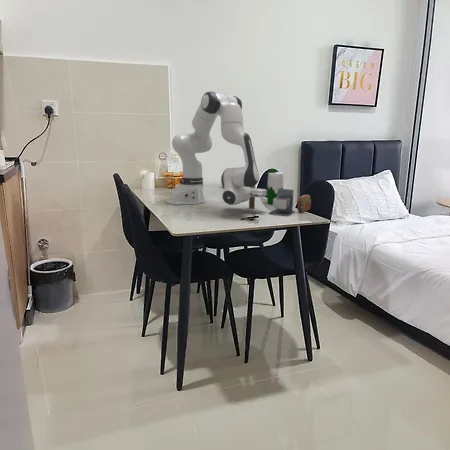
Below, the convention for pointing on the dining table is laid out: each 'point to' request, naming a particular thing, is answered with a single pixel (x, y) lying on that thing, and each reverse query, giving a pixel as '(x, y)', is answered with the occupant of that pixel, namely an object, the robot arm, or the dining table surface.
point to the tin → (304, 203)
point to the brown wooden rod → (252, 201)
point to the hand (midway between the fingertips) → (252, 189)
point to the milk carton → (274, 184)
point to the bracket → (283, 203)
